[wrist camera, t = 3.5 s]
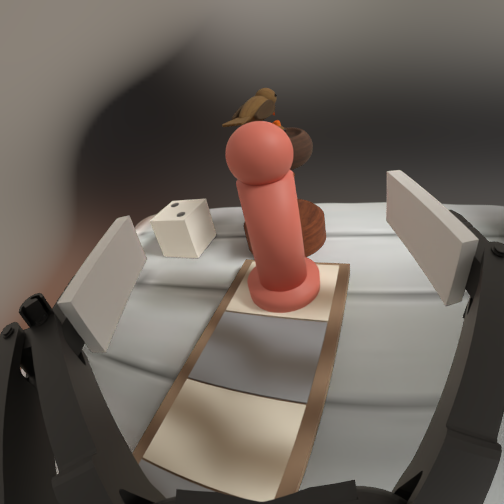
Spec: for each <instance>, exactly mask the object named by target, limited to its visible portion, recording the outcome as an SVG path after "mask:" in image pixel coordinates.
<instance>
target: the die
mask: <svg viewBox="0 0 504 504" xmlns="http://www.w3.org/2000/svg"><path fill="white" fill-rule="evenodd" d="M150 223H151V226H152V228H153V231H154V233H155V236H156V238H157V241H158V243H159V245H160V248H161V250H162V253H163V255H164V257H179V258H199V257H200V255H201V254H202V253H203V252H204V250H205V249H206V248H207V246H208V245H209V244H210V243H211V241H212V240H213V239H214V237H215V236H216V235H217V234H216V231H215V228H214V224H213V221H212V218H211V214H210V211H209V208H208V205H207V201H206V199H195V200H181V201H172V202H171V203H170V204H169V205H168V206H166V207H165V208H164V209H163V210H162V211H161V212H160V213H159V214H157V215H156V216H155V217H154V218H153V219H152V220H151V221H150Z"/></svg>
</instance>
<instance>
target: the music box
mask: <svg viewBox="0 0 504 504" xmlns="http://www.w3.org/2000/svg"><path fill="white" fill-rule="evenodd" d="M276 96H277V95H276V94H275V93H274V92H273V91H272V90H271V89H268V88H262V89H260V90H259V91H257V93H256V95H255V97H252V98H251V99H249V100H248V101H247V102H246V103H245V104H243V105H242V106H241V107H240V108H239V109H238V110H237V112H236V113H235V114H234V116H233V117H232V120H231V121H229V122H227V123H225V124H223V125H222V126H223V127H229V126H237V125H243V124H247V123H250V122H254V121H262V120H264V119H266V118H267V117H269V116H270V115H272V114H273V115H275V114H274V111H275V102H276ZM272 124H275V125H276V126H278V127H280V128H281V129H282V130H283V131H284V132H285V133H286V134H287V135H288V137H289V139H290V141H291V143H292V146H293V162H292V165H291V168H290V170H292V169H295V168H298V167H300V166H302V165H303V164H304V163H305V162H307V161H308V159H309V158H310V156H311V154H312V149H313V144H312V140H311V138H310V137H309V135H308V134H307V133H306V132H305V131H304V130H302V129H299V128H283V127H282V126H281V125H280V121H278V120H277V121H275V122H273V123H272ZM293 175H294V176H295V173H294V172H293ZM297 201H298V208H299V215H300V222H301V230H302V237H303V245H304V253H305V257H307V256H310V255H312V254H313V253H315V252H316V251H318V250H319V249H320V248H321V247H322V246H323V244H324V242H325V240H326V230H325V218H324V213H323V211H322V209H321V208H320V207H318V206H317V205H315V204H313V203H312V202H309V201H306V200H301V199H297ZM244 230H245V234H246V238H247V242H248V246H249V250H250V251H251V253H252V254H253V251H252V247H251V243H250V239H249V235H248V231H247V227H246V222H245V223H244Z"/></svg>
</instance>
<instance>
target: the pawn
mask: <svg viewBox="0 0 504 504" xmlns="http://www.w3.org/2000/svg"><path fill="white" fill-rule="evenodd" d="M226 160H227V164H228V167H229V169H230V171H231V172H232V174H233V175H234V176H235V177H236V178H237V179H238V180H237V182H236V185H237V190H238V193H239V198H240V202H241V205H242V210H243V214H244V218H245V222H246V227H247V231H248V235H249V239H250V243H251V247H252V251H253V255H254V259H255V264H256V266H255V267H254V268H253V269H252V271H251V272H250V274H249V276H248V280H247V283H248V288H249V291H250V295H251V298H252V300H253V302H254V303H255V304H256V305H257V306H258V307H260V308H261V309H263V310H266V311H269V312H274V313H286V312H292V311H296V310H299V309H301V308H303V307H305V306H307V305H308V304H310V303H311V302H312V301H313V300H314V299H315V298H316V297H317V295H318V293H319V291H320V274H319V268H318V266H317V265H316V264H315V263H314V262H313V261H312V260H311V259H309V258H307V257H305V253H304V245H303V237H302V230H301V222H300V215H299V208H298V201H297V195H296V188H295V182H294V175H293V172H292V171H291V170H290V168H291V165H292V162H293V146H292V143H291V141H290V139H289V137H288V135H287V134H286V133H285V132H284V131H283V130H282V129H281V128H280V127H278V126H276V125H275V124H272V123H269V122H265V121H254V122H250V123H247V124H244V125H243V126H241V127H239V128H238V129H237V130H236V131H235V132H234V133H233V134H232V135H231V137H230V139H229V141H228V143H227V147H226Z"/></svg>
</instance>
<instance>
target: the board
mask: <svg viewBox="0 0 504 504" xmlns="http://www.w3.org/2000/svg"><path fill="white" fill-rule="evenodd" d="M314 263H315V264H316V265H317V266H318V268H319V274H320V291H319V293H318V295H317V297H316V298H315V299H314V300H313V301H312V302H311V303H310V304H308V305H307V306H305V307H303V308H301V309H299V310H296V311H292V312H286V313H274V312H269V311H266V310H263V309H261V308H260V307H258V306H257V305H256V304H255V303H254V302H253V300H252V298H251V295H250V291H249V288H248V283H247V280H248V276H249V274H250V272H251V271H252V269H253V268H254V267H255V266H256V264H255V260H248V259H246V260H245V262H244V264H243V265H242V267H241V269H240V270H239V272H238V274H237V276H236V277H235V279H234V281H233V282H232V284H231V286H230V288H229V289H228V291H227V293H226V294H225V296H224V298H223V299H222V301H221V303H220V305H219V306H218V308H217V310H216V311H215V313H214V315H213V316H212V318H211V320H210V322H209V323H208V325H207V327H206V328H205V330H204V332H203V334H202V335H201V337H200V339H199V340H198V342H197V344H196V345H195V347H194V349H193V351H192V352H191V354H190V356H189V357H188V359H187V361H186V363H185V364H184V366H183V368H182V369H181V371H180V373H179V374H178V376H177V378H176V380H175V381H174V383H173V385H172V386H171V388H170V390H169V392H168V393H167V395H166V397H165V398H164V400H163V402H162V404H161V405H160V407H159V409H158V410H157V412H156V414H155V415H154V417H153V419H152V421H151V422H150V424H149V426H148V427H147V429H146V431H145V433H144V434H143V436H142V438H141V439H140V441H139V443H138V445H137V446H136V448H135V450H134V451H133V453H132V454H133V456H134V458H135V459H136V461H137V463H138V464H139V466H140V468H141V469H142V471H143V472H144V474H145V476H146V477H147V479H148V480H149V482H150V483H151V484H152V485H153V486H154V487H155V488H156V489H157V490H159V491H160V492H161V493H162V494H163V495H164V497H165V498H170V497H174V496H176V489H181V490H193V491H208V492H219V493H223V494H227V495H231V496H235V497H239V498H244V499H249V500H254V501H259V502H264V501H269V500H272V499H276V498H279V497H283V496H286V495H289V494H292V493H295V492H298V491H299V488H300V485H301V482H302V479H303V476H304V473H305V470H306V467H307V464H308V461H309V457H310V454H311V451H312V448H313V444H314V441H315V437H316V434H317V430H318V427H319V423H320V420H321V416H322V412H323V408H324V404H325V400H326V396H327V392H328V388H329V384H330V379H331V375H332V371H333V366H334V361H335V357H336V352H337V347H338V342H339V337H340V331H341V326H342V320H343V315H344V309H345V303H346V296H347V290H348V283H349V276H350V264H340V263H316V262H314Z"/></svg>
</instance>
